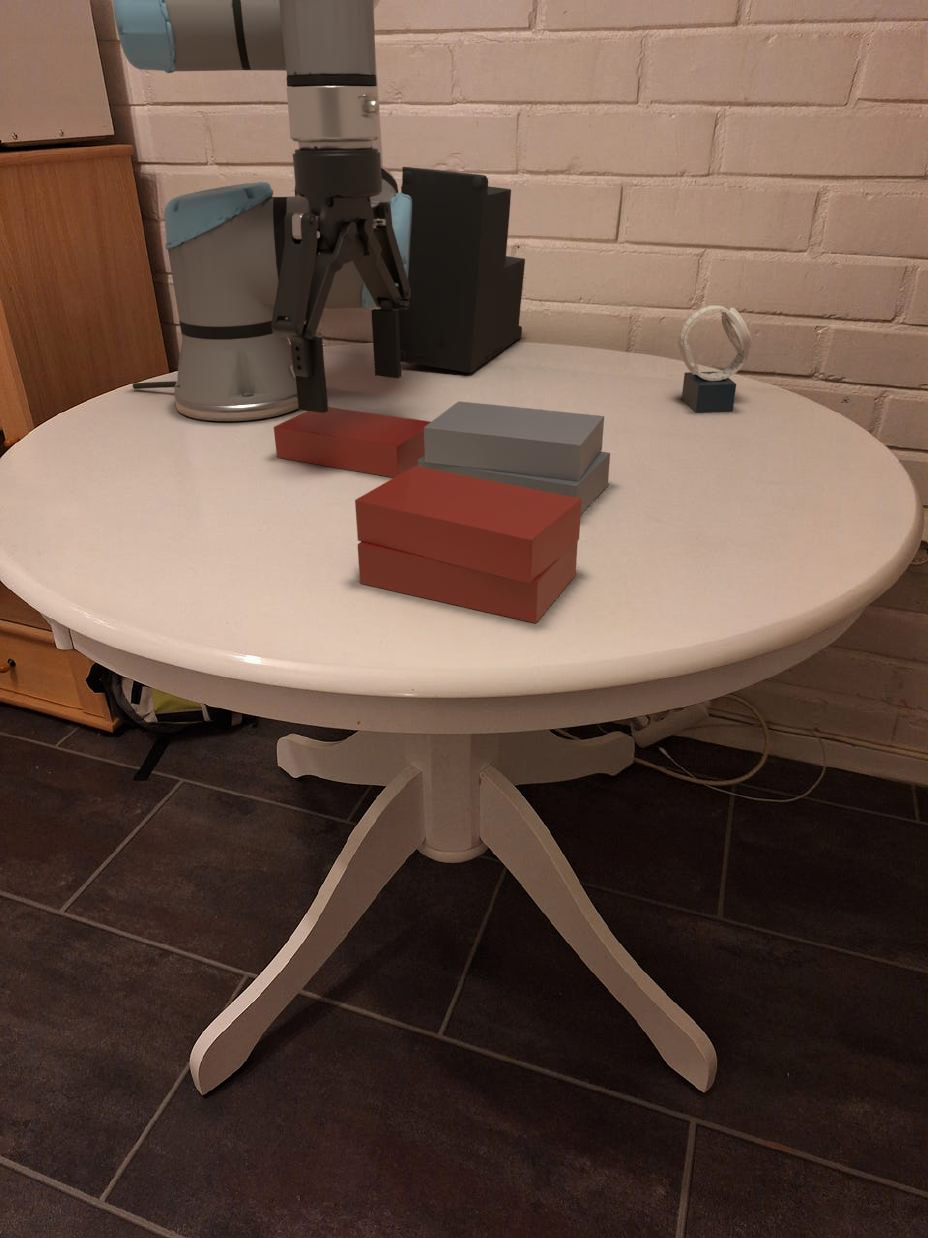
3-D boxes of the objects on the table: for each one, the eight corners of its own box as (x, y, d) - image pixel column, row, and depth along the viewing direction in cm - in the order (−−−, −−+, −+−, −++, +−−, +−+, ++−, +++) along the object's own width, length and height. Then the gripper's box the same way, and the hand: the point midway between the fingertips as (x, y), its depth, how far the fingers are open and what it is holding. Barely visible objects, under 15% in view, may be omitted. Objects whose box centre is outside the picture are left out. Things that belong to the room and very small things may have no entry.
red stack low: (359, 583, 67) (357, 544, 65) (411, 542, 73) (410, 505, 72) (536, 623, 62) (537, 581, 60) (576, 575, 68) (578, 536, 66)
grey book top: (424, 462, 80) (423, 427, 79) (458, 433, 87) (458, 401, 85) (578, 481, 76) (580, 444, 74) (602, 450, 83) (604, 415, 81)
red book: (276, 457, 91) (273, 426, 89) (321, 434, 97) (318, 405, 96) (398, 478, 86) (396, 446, 84) (437, 452, 92) (436, 421, 90)
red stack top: (357, 540, 66) (354, 499, 64) (416, 503, 72) (415, 465, 70) (530, 583, 60) (532, 539, 58) (579, 539, 66) (581, 498, 64)
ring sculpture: (749, 410, 104) (764, 310, 98) (680, 412, 103) (691, 312, 98) (732, 397, 108) (746, 301, 103) (666, 398, 108) (676, 302, 103)
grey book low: (418, 493, 82) (417, 459, 81) (461, 462, 89) (461, 430, 88) (574, 521, 77) (576, 485, 75) (607, 485, 84) (610, 452, 82)
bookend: (455, 327, 139) (465, 156, 127) (523, 337, 136) (540, 163, 124) (394, 363, 120) (399, 166, 108) (471, 376, 117) (484, 175, 105)
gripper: (286, 150, 66) (312, 432, 77) (441, 141, 86) (445, 367, 96) (205, 149, 69) (241, 421, 80) (373, 141, 89) (384, 360, 99)
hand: (353, 392), depth 88 cm, fingers open, 13 cm apart
